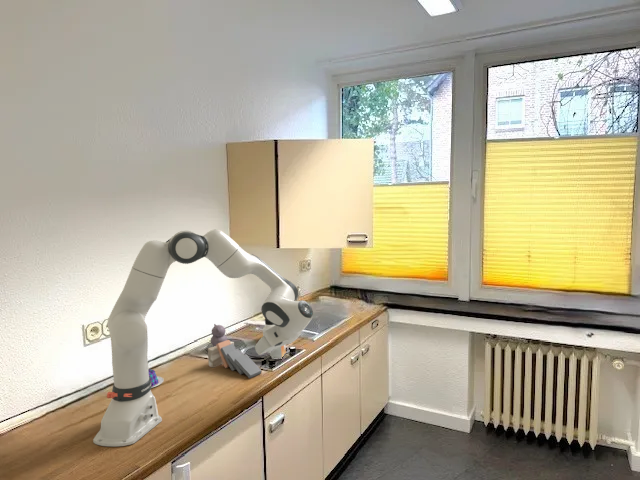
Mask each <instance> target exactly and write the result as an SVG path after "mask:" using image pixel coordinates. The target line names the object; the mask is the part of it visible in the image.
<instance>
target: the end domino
mask: <svg viewBox="0 0 640 480" xmlns="http://www.w3.org/2000/svg"><path fill="white" fill-rule="evenodd" d="M230 341H231V340H230V339H227V340H226V341H224V342H221V343H218V344H216V346H217V348H218V351H219V354H220V356H221V359H222V361H223V364H222V365H223V366H224V369H227V368H230V366H229V365H228V363H227V361H226V359H225V357H224V355H223V354H222V352H221V350H220V349H221V348H222V347H225V346H227V345H230V344H231V343H230Z"/></svg>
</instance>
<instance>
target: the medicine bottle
mask: <svg viewBox="0 0 640 480" xmlns="http://www.w3.org/2000/svg"><path fill="white" fill-rule="evenodd" d="M264 322H265V325H264V327H262V335H263V336H264V332H265V331H267V330H268V329H270V328H272V327H274V326H275V325H274V324H272V323H270V322H269V321H268V320H267V319H266V318H265V317H264ZM263 336H262V337H263Z"/></svg>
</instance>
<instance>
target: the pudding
mask: <svg viewBox="0 0 640 480" xmlns="http://www.w3.org/2000/svg"><path fill="white" fill-rule="evenodd" d="M148 370H149V377H150V379H151V389H153V388H155V387H157V386H160V385H161V384H163V383H164V377H161V376H160V375H159V376H158V375H157V374H156V371H155V370H154V369H149V368H148Z"/></svg>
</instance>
